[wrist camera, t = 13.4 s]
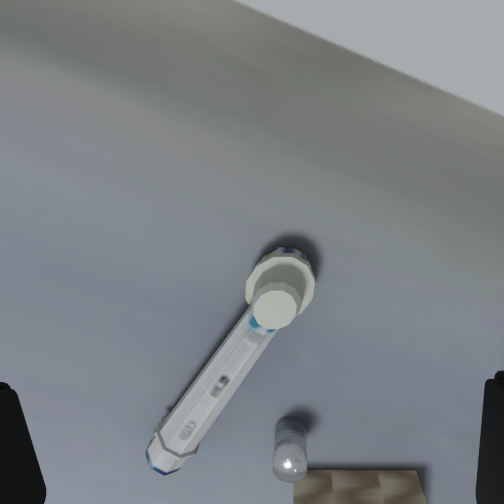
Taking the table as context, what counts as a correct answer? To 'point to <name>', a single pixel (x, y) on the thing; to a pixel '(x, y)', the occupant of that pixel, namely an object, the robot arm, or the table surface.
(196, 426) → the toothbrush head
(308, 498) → the bored block
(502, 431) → the robot arm
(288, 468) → the short pin
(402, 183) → the table surface
